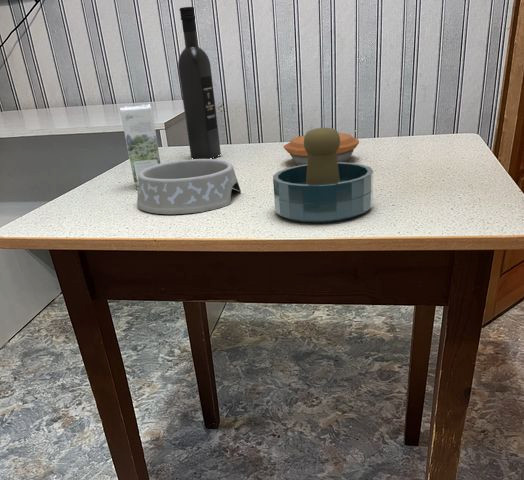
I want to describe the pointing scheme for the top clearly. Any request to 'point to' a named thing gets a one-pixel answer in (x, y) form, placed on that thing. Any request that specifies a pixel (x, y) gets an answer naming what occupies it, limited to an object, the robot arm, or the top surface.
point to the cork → (322, 156)
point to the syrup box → (140, 138)
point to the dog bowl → (186, 186)
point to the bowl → (323, 194)
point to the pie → (301, 155)
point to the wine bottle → (197, 93)
